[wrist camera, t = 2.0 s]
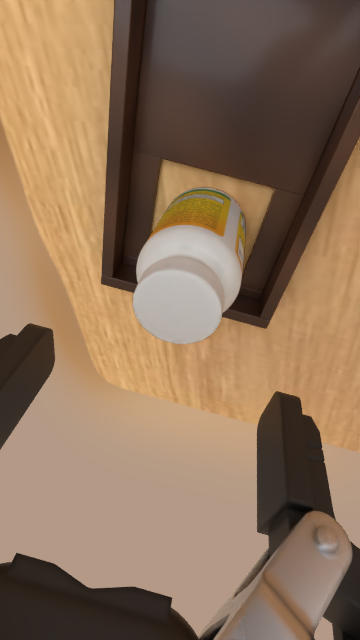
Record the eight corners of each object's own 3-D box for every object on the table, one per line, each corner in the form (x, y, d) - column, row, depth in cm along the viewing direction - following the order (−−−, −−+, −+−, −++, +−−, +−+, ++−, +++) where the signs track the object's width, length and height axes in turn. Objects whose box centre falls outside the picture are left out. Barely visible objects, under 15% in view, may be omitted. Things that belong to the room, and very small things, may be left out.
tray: (139, -102, 14) (120, -129, 12) (422, -33, 13) (450, -49, 12) (112, 267, 25) (100, 284, 23) (265, 308, 25) (266, 329, 23)
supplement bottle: (262, 232, 21) (265, 324, 14) (200, 276, 24) (175, 371, 17) (209, 164, 19) (179, 228, 12) (148, 220, 22) (94, 300, 15)
